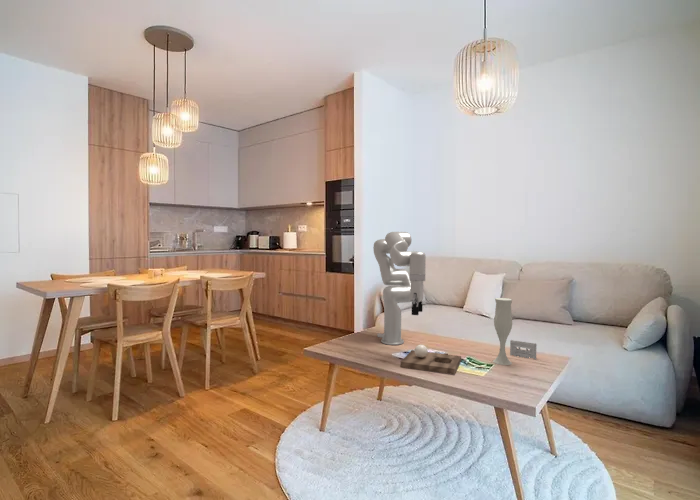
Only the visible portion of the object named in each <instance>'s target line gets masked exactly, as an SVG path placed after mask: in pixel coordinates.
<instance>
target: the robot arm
mask: <svg viewBox="0 0 700 500" xmlns="http://www.w3.org/2000/svg"><path fill="white" fill-rule="evenodd" d="M411 244H412V236H411V234H410V233H409V232H406V231H391V232H390V231H389V232H388V233H387V234H386V235H385V237H384V238H383V239H382V238H381V239H377V240H376V241H374V242H373V254H374V258H375V260H376V261H377V264H378V266H379V267H378V268H379V272H380V276H381V281H382V284H384V285H385V288H383V289H382V299H383V309H384V312H383V313H384V314H383V315H384V316H383V324H384V325H383V333H379V332H378V333H376V334H377V335H376V336H377V338H380V339H381V340H380V341H381V342H380V343H382V344H384V345H389V346H399V345H403V344H404V343H405V340H404V339H403V338H402V309H401V307H399V305H398V304H403V303H411V316H419V314H420V313H422V312H423V299H424V282H426V258H427V257H426V254H425V252H422V251H421V252H419V251H414V250H413V251H412V250H411V251H408V249H409V247H410V246H411ZM388 254H389V256H388ZM395 266H397V267H399V268H396V267H395ZM400 267H409V271H408V270H407V269H406V268H400Z"/></svg>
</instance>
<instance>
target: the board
mask: <svg viewBox="0 0 700 500" xmlns="http://www.w3.org/2000/svg"><path fill="white" fill-rule="evenodd" d="M461 363H462V356H461V355H455V354H446V353H439V352H430V351H428V353H427V355H426V356H425V357H423V358H420V357H418V356H416V354H415V349H414V350H413V349H412V350H411V351H409V353H407V355H405V357H404V358H402V360H401V361H400V368H406V369H412V370H419V371H426V372H433V373H442V374H448V375H453V376H455V375H456V374H457V371H458V369H459V367H460V364H461Z"/></svg>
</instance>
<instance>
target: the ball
mask: <svg viewBox="0 0 700 500" xmlns="http://www.w3.org/2000/svg"><path fill="white" fill-rule="evenodd" d="M414 350H415V354H416V356H418V357H420V358H423V357H425V356H426V355H427V353H428V352H429V351H428V348H427V346H426V345H424V344H418V345H416V346H415V348H414Z"/></svg>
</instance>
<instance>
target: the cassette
mask: <svg viewBox="0 0 700 500" xmlns="http://www.w3.org/2000/svg"><path fill="white" fill-rule="evenodd" d="M537 346H538V344H537V343H536V342H529V341H521V340H520V341H519V340H514V339H511V340H510V347H509V351H510V352H509V355H510V356H512V355H514V357H517V356H519V357H518V358H523V357H525V359H529V357H530V358H534V359H533V360H537ZM521 348H523V349H521Z"/></svg>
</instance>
